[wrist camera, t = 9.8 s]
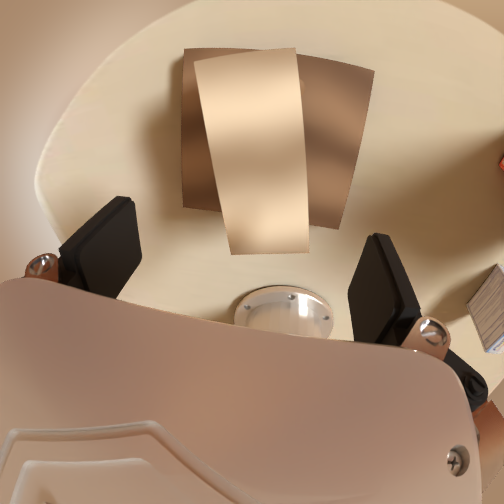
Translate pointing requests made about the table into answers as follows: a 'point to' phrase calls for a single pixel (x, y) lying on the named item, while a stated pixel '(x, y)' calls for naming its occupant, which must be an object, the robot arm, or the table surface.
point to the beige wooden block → (257, 148)
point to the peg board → (315, 133)
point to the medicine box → (490, 311)
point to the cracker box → (502, 164)
